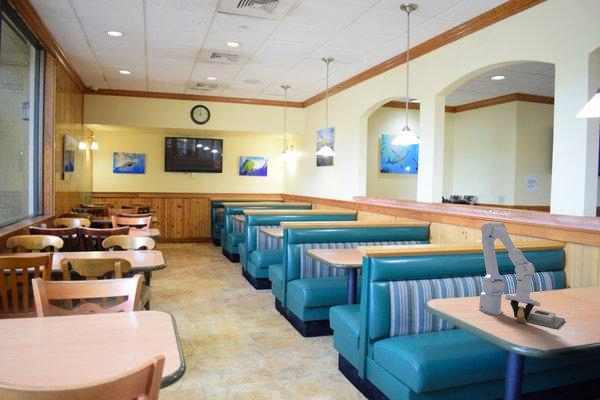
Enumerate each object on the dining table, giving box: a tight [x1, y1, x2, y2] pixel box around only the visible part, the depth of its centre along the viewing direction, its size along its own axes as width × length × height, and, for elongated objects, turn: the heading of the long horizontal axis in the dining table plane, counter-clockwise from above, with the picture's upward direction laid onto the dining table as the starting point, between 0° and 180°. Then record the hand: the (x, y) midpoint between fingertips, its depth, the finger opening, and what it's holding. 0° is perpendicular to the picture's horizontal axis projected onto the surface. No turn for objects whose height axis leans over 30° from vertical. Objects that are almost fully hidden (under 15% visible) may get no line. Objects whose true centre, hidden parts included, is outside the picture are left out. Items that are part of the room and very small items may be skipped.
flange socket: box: [526, 308, 566, 330], centre depth 213 cm, size 16×16×4 cm
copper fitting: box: [515, 305, 527, 325], centre depth 209 cm, size 4×4×7 cm
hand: (521, 318), depth 209 cm, fingers closed on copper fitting, 4 cm apart
